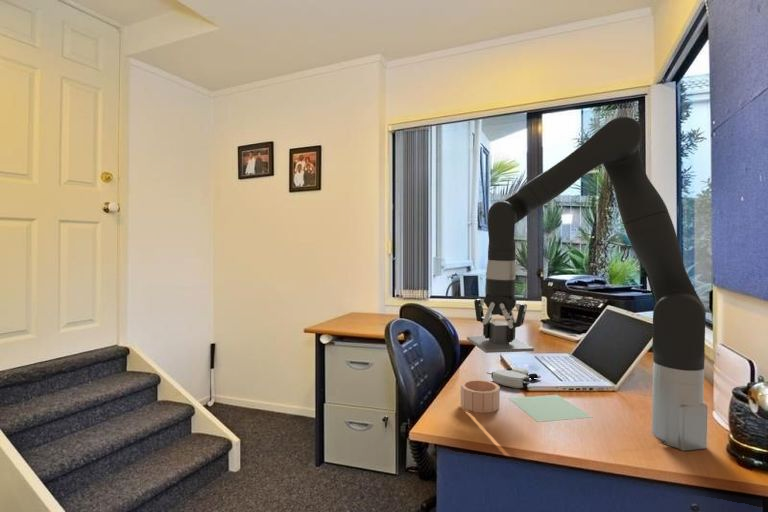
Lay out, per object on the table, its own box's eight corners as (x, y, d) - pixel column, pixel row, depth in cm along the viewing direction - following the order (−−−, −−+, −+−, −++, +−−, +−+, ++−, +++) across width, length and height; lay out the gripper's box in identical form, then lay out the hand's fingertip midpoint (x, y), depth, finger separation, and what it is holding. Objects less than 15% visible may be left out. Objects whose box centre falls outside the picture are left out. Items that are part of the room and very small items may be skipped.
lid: (533, 351, 104) (534, 328, 104) (485, 352, 102) (486, 329, 102) (510, 338, 117) (510, 318, 117) (467, 339, 115) (467, 319, 115)
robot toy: (506, 376, 138) (484, 385, 127) (507, 363, 138) (485, 370, 127) (543, 385, 129) (523, 395, 118) (543, 371, 129) (523, 379, 118)
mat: (592, 420, 102) (592, 416, 102) (537, 425, 99) (537, 421, 99) (557, 397, 117) (557, 394, 117) (508, 401, 114) (508, 398, 114)
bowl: (506, 414, 106) (506, 391, 106) (469, 417, 104) (469, 394, 104) (489, 399, 116) (489, 378, 116) (455, 402, 114) (456, 380, 114)
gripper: (532, 278, 107) (530, 341, 108) (480, 274, 116) (478, 332, 117) (523, 280, 101) (521, 347, 102) (469, 276, 110) (467, 338, 111)
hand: (498, 339), depth 110 cm, fingers closed on lid, 5 cm apart
